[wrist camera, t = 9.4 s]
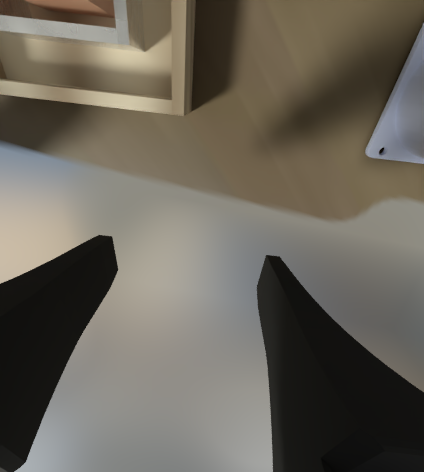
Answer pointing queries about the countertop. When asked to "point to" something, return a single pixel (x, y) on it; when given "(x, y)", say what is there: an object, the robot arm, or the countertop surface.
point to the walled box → (107, 63)
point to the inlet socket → (77, 26)
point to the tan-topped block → (78, 6)
